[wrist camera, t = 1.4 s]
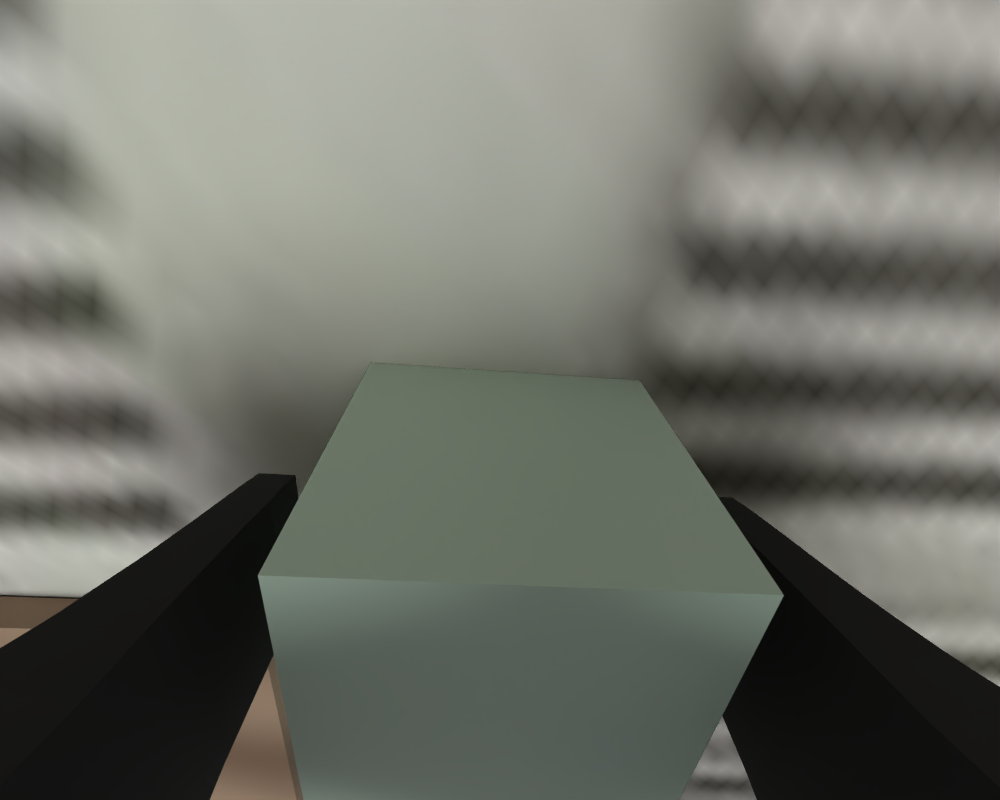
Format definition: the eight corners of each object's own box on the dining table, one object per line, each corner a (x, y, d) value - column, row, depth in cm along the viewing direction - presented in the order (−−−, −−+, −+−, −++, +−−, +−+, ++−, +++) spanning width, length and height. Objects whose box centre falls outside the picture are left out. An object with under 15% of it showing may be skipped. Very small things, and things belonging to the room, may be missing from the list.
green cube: (592, 568, 11) (661, 834, 7) (379, 560, 11) (310, 833, 7) (638, 378, 9) (784, 595, 5) (371, 360, 9) (258, 575, 4)
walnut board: (310, 795, 16) (302, 826, 15) (16, 792, 15) (-6, 824, 14) (275, 605, 12) (261, 635, 11) (-132, 592, 11) (-175, 622, 10)
